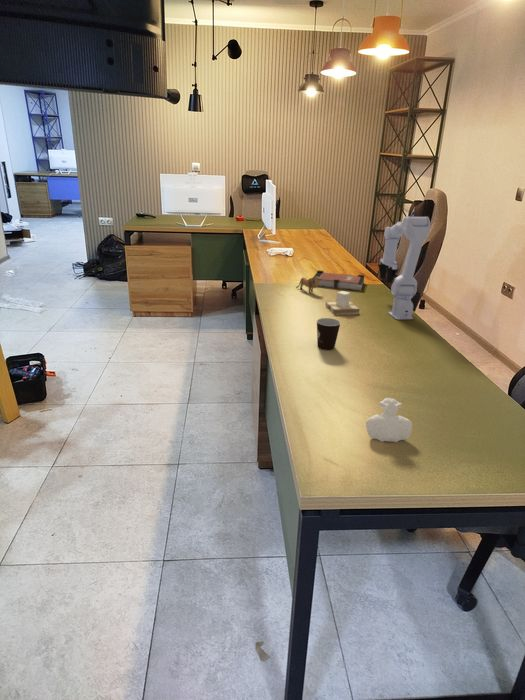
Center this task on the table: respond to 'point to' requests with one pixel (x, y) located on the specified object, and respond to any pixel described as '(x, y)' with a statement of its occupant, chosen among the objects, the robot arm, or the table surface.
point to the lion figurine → (309, 283)
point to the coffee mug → (327, 333)
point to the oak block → (342, 308)
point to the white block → (343, 299)
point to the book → (340, 280)
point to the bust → (389, 423)
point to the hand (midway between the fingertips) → (385, 280)
